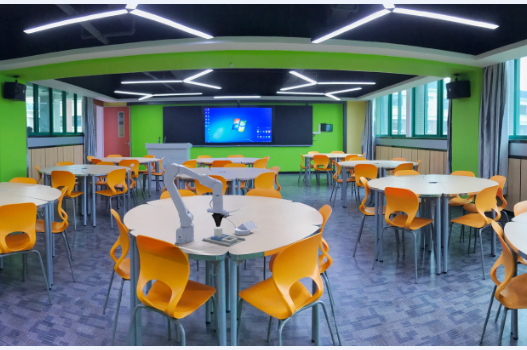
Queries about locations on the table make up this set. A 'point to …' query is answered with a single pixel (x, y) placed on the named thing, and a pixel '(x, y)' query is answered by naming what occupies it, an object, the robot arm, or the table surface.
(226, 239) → the grey tray
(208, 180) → the robot arm
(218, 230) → the plug
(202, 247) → the table surface
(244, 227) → the wedge on round base
